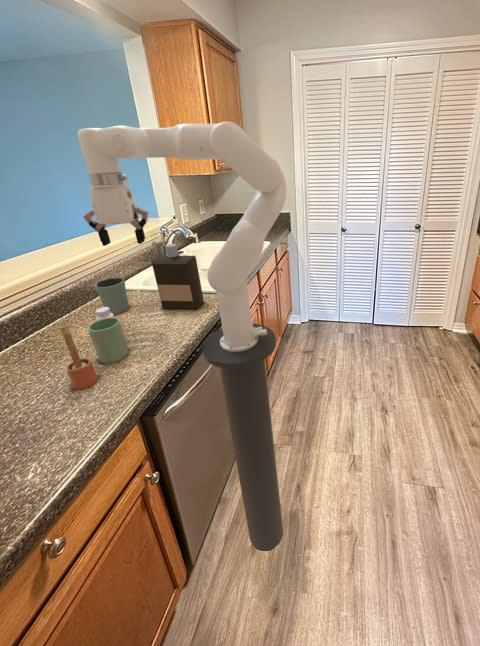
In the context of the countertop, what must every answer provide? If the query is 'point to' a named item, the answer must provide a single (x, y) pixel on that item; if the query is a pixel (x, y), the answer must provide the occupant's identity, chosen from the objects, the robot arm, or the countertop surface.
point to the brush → (71, 348)
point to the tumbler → (108, 339)
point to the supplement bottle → (103, 313)
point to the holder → (82, 374)
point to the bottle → (178, 280)
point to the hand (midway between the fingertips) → (124, 243)
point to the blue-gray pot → (113, 294)
